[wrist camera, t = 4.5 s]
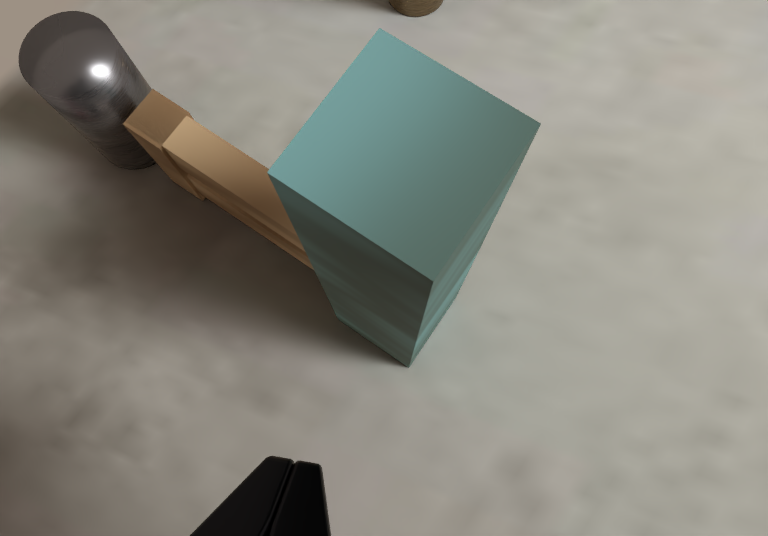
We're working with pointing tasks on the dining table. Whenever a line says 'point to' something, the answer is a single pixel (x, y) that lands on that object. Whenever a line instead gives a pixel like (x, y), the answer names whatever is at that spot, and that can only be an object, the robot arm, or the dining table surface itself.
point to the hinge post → (87, 82)
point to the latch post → (416, 6)
